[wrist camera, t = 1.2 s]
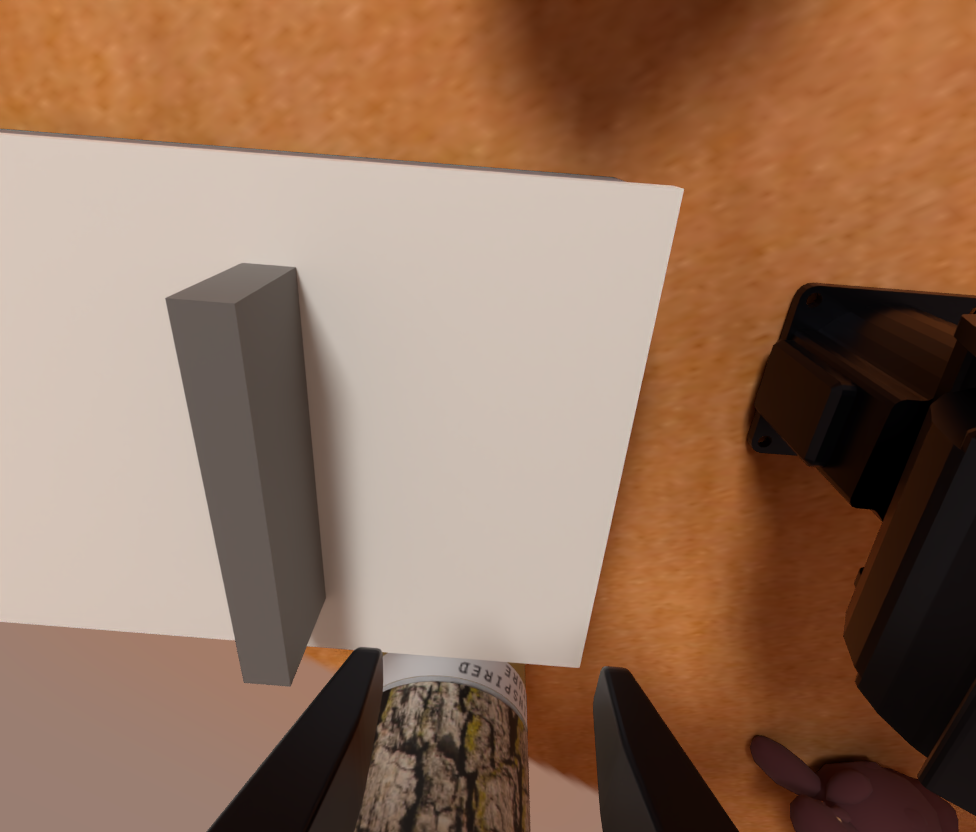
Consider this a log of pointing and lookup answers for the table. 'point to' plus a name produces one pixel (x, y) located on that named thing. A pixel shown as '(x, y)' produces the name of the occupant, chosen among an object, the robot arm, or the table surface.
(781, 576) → the table surface
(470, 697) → the paper tube
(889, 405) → the robot arm
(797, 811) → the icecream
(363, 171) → the lid
